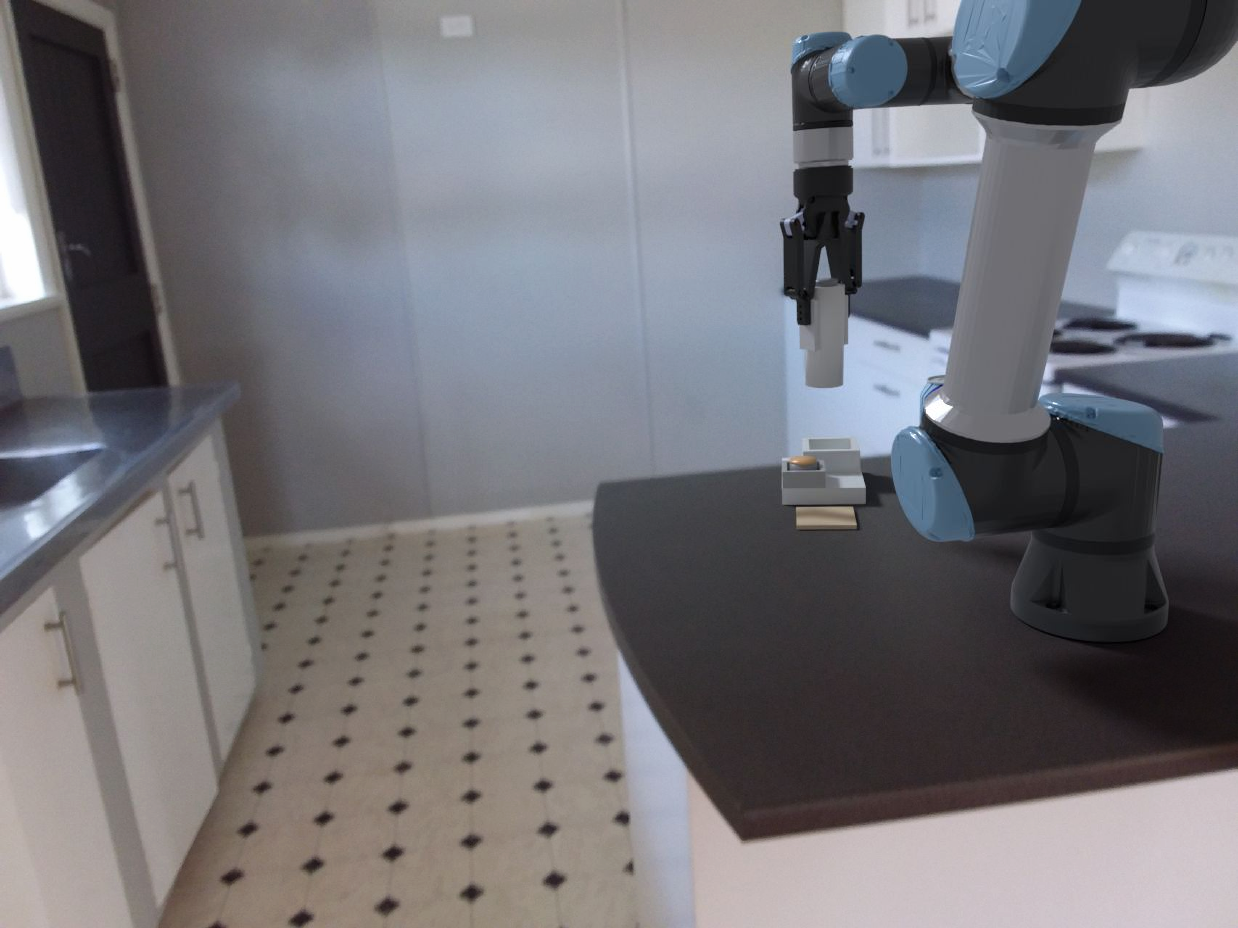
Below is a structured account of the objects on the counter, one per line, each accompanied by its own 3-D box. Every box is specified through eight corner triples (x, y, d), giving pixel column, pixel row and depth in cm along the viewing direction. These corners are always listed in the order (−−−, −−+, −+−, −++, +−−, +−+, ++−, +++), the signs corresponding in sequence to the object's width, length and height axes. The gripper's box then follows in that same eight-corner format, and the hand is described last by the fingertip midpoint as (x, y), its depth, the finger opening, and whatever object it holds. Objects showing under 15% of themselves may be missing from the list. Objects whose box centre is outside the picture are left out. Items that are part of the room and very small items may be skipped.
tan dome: (817, 482, 148) (817, 462, 147) (790, 482, 148) (789, 463, 148) (816, 474, 151) (816, 455, 151) (789, 475, 152) (789, 456, 151)
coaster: (856, 529, 136) (856, 525, 136) (796, 529, 137) (796, 525, 137) (852, 510, 144) (852, 506, 144) (796, 511, 145) (796, 507, 145)
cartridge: (850, 383, 135) (852, 278, 131) (826, 389, 132) (828, 282, 128) (821, 378, 139) (822, 276, 135) (797, 384, 136) (798, 280, 132)
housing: (865, 503, 146) (865, 464, 145) (782, 504, 148) (781, 465, 147) (857, 471, 162) (857, 435, 161) (782, 472, 164) (781, 437, 163)
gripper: (848, 164, 136) (848, 335, 142) (750, 169, 126) (755, 353, 132) (892, 160, 130) (890, 339, 136) (794, 166, 120) (796, 359, 126)
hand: (824, 346), depth 134 cm, fingers closed on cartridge, 5 cm apart
